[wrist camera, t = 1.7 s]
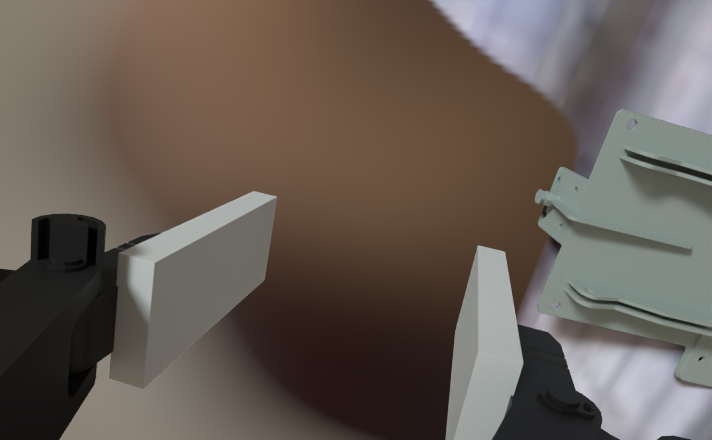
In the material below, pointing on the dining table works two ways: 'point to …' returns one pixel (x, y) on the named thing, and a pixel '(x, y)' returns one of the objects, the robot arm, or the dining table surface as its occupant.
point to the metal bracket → (638, 239)
